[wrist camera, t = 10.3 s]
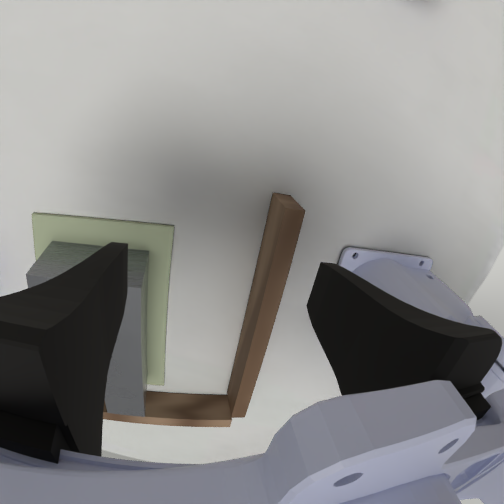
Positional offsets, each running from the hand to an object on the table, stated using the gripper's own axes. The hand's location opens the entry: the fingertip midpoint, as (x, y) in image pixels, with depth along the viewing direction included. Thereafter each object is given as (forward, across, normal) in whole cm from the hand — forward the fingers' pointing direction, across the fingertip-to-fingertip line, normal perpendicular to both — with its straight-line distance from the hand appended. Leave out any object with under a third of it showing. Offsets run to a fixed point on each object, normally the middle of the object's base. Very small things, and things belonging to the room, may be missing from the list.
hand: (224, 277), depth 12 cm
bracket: (+9, +7, +10) cm, 15 cm away
